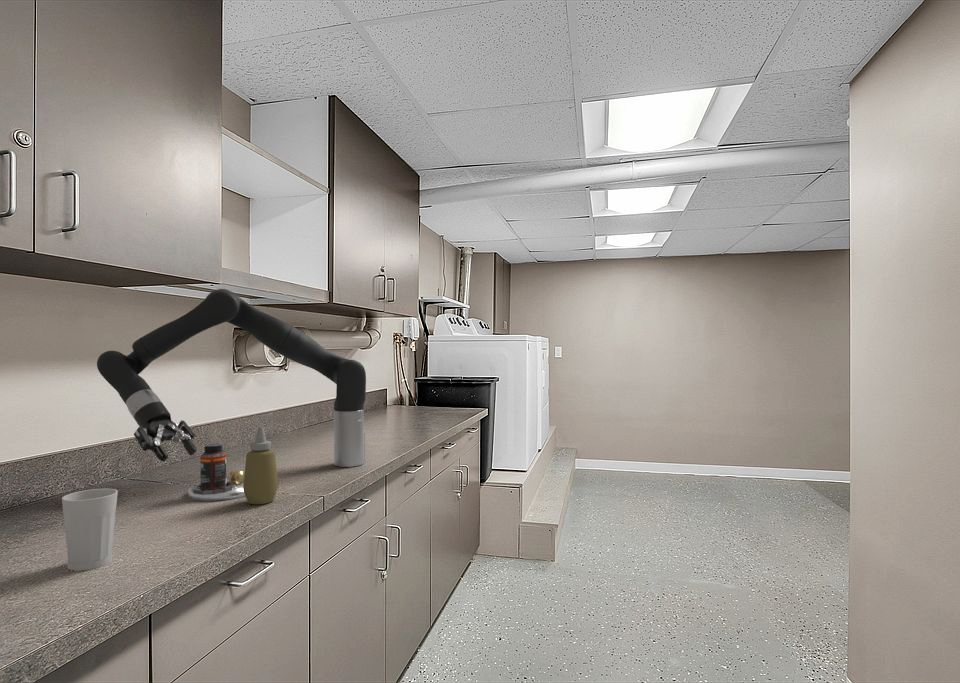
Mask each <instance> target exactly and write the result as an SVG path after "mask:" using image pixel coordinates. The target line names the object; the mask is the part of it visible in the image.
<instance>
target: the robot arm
mask: <svg viewBox="0 0 960 683" xmlns="http://www.w3.org/2000/svg"><path fill="white" fill-rule="evenodd" d="M224 323H229V324H231V325H233V326H235V327H237V328H240V329H242V330H244V331H246V332H247V333H248V334H250V335H251V336H252V337H253V338H255V339H256V340H258V341H259V343H261V344H263V345H264V346H265V347H267V348H268V349H270V350H271V351H273V352H274V353H277V354H279V355H281V356H282V357H284V358H286V359H289V360H290V361H292V362H294V363H297V364H299V365H301V366H305V367H307V368H310V369H312V370H314V371H316V372H318V373H319V374H320V375H323V376H324V377H325V378H327V379H328V380H330V381H331V382H332V383H335V385H336V388H335V389H336V392H335V393H336V394H335V395H336V396H335V400H334V403H333V446H334V447H333V465H334V466H336V467H341V468H342V467H343V468H349V467H350V468H351V467H359V466H362V465H364V464H365V462H366V432H365V430H364V429H365V423H364V422H365V420H364V418H365V414H364V413H365V410H364V409H365V408H364V407H365V401H366V394H367V390H366V389H367V374H366V370H365V367H364V365H363V363H361V362H360V361H358V360H356V359H349V358H346V357H342V356H340V355H338V354H336V353H333V352H331V351H329V350H328V349H326V348H325V347H323V346H322V345H320V344H319V343H318V342H317V341H316V340H315V339H314V338H312V337H310V336H309V335H308V334H306V333H305V332H303V331H302V330H300V329H298V328H296V327H295V326H293V325H291V324H289V323H287V322H285V321H283V320H281V319H279V318H277V317H275V316H274V315H273V316H272V315H270V314H268V313H265V312H263V311H261V310H259V309H258V308H256V307H254V306H252V305H251V304H250V303H248V302H247V301H245V300H244V299H243V298H242V297H240V296H238V295H237V294H236V293H234V292H233V291H231V290H229V289H226V288H217V289H214V290H212V291H211V292H210V293H209V294H208V295H207V296H206V297H205V298H204V300H202V301H201V302H200V303H199V304H197V305H196V306H195V307H194V308H192V309H191V310H190V311H188V312H187V313H186V314H184V315H181V316H180V317H178V318H176V319H174V320H172V321H170V322H168V323H165V324H163V325H161V326H159V327H158V328H155V329H153V330H152V331H150V332H147V333H146V334H145V335H143V336H141V337H140V338H138V339H136V340H135V341H133V343H132V345H131V347H132V351H131V353H129V354H128V355H125V354H124V353H122V352H120V351H117V350H107V351H105V352H103V353H101V354H99V356H98V357H97V361H96V367H97V368H96V369H97V370H98V372H99V373H100V375H101V376H102V378H104V380H105V381H106V382H107V383H108V384H109V385H110V386H111V387H112V388H113V389H114V390H115V391H116V392H117V394H118V396H119V397H120V398H121V400H122V402H124V404H125V405H126V407H127V410H128V412H129V414H130V415H131V416H132V418H133V419H134V420H135V422H136V424H137V425H138V427H137V429H136V430H135V431H134V433H133V436H134V438H135V439H136V440H137V443H138V444H139V446H140V448H141V450H142V451H144V452H146V451H148V450H149V451H151V452H153V453H154V455H155V456H156V458H157V459H158V460H159V461H160V462H165V461H166V460H167V459H168V458H169V454H168V453H167V451H166V450H165V449H164V447H163V445H160V444H161V443H162V442H166V441H172V442H174V443H179V444H181V445H183V447H184V450H186V452H187V453H188V455H189V456H193V455H195V453H196V452H197V447H196V446H195V444H194V442H193V441H192V440H194V438H195V437H196V434H195V432H194V431H193V430H192V428H190V426H189V425H188V424H187V423H186V421H185V420H180V421H179V422H177V423H176V422H174V421H172V417H171V415H172V414H171V413H170V412H169V410H168V409H167V408H166V406H165V405H164V403H163V402H162V401H161V399H160V398H159V396H158V395H157V394H156V393H155V392H154V391H153V389H152V388H151V387H150V385H149V384H148V382H147V381H146V380H145V379H144V378H143V377H141V376H140V374H141V373H142V372H143V371H144V370H145V369H146V368H147V367H148V366H149V365H150V364H151V363H152V362H153V361H155V360H157V359H159V358H160V357H162V356H164V355H165V354H167V353H169V352H170V351H172V350H174V349H175V348H177V347H178V346H181V344H183V343H184V342H187V341H188V340H189V339H191V338H192V337H194V336H196V335H198V334H200V333H203V332H204V331H206V330H208V329H211V328H213V327H215V326H216V327H217V326H219V325H221V324H224ZM176 434H177V436H176ZM182 438H183V439H182Z"/></svg>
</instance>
